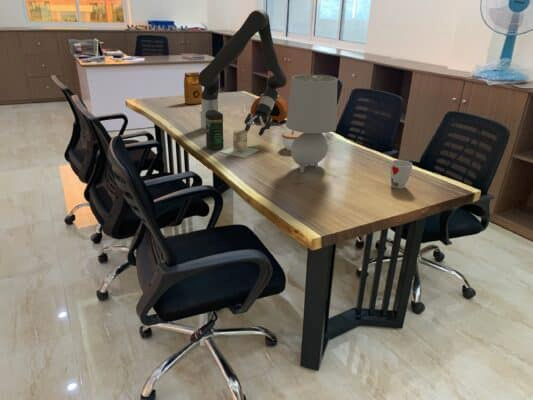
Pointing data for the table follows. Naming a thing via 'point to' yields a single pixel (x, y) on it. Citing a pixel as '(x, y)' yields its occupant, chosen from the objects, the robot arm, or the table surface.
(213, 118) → the coffee jar
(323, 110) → the table lamp
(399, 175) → the cup
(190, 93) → the coffee package
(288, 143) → the lidded jar
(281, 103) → the alarm clock
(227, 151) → the green mat
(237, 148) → the maple block
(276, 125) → the table surface
